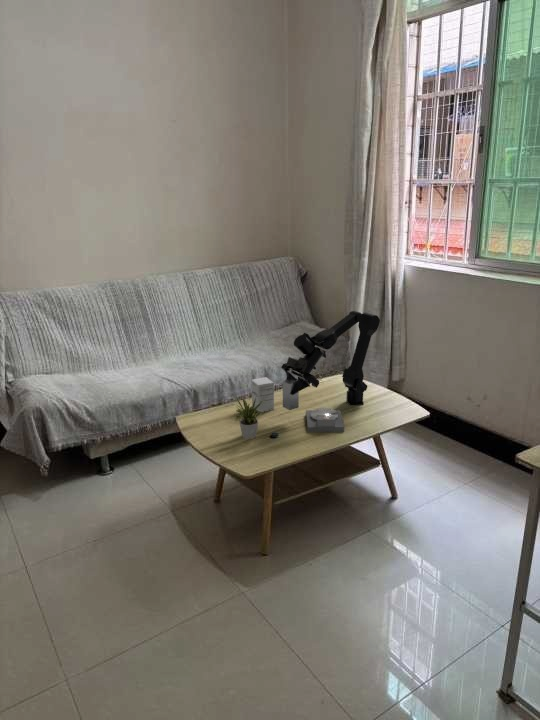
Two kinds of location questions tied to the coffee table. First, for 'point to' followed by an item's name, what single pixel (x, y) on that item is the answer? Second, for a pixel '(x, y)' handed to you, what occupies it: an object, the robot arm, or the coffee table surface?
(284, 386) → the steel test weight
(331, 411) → the scale pan
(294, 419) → the coffee table surface
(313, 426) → the scale base
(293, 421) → the coffee table surface
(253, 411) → the house plant
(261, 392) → the supplement box
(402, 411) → the coffee table surface
